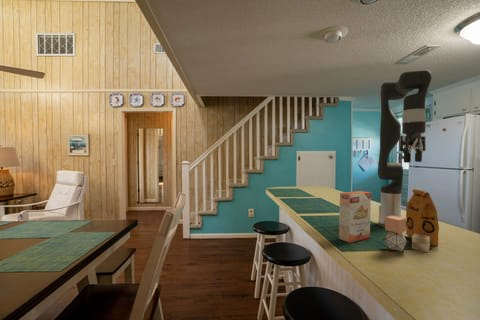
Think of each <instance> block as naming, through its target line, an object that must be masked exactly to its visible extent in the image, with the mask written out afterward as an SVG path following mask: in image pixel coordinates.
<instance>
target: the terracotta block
mask: <svg viewBox="0 0 480 320" xmlns="http://www.w3.org/2000/svg"><path fill="white" fill-rule="evenodd" d="M384 226H385V227H384V228H385V229H384V230H385V231H387V232H388V231H392V232H396V233H401V232H402V233H406V217H402V216H401V217H397V216H388V217H385V225H384Z"/></svg>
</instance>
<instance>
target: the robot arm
mask: <svg viewBox="0 0 480 320" xmlns="http://www.w3.org/2000/svg"><path fill="white" fill-rule="evenodd" d="M432 75H433V74H432V72H431V71H430V70H429V69H419V70H409V71H408V70H407V71H404V72H402V73H401V74H400V75H399V77H398V78H399V79H398V81H388V82H383V83H382V84H381V85H380V127H379V128H380V129H379V155H378V156H379V157H378V162H377V164H378V165H377V175H378V178H379V179H380V180H382V181H391V182H390V183H388V184H385V185H383V186H381V187H380V205H379V206H378V223H379V224H381V225H382V226H385V217H388V216H397V217H402V190H403V181H404V180H403V178H404V168H403V165H402V164H401V163H400V162H389V156H390V154H391V153H392V151H393V149H394V148H395V146H396V145H397V144H398V143H399V141H400V143H399V151H400V152H402V153H403V162H404V163H406V164H407V163H411V160H412V159H411V157H412V153H411V152H412V151H413V149H414V161H415V162H416V163H422V161H423V153H424V152H426V150H427V149H426V136H423V135H421V134H425V133H426V126H427V125H426V123H427V121H426V119H427V118H426V117H427V116H426V115H427V114H426V98H427V93H428V90H429V87H430V84H431V82H432V78H433V76H432ZM413 90H417V92H416V93H412V94H409V93H410V92H412V91H413ZM408 94H409V95H408ZM398 100H403V105H402V108H403V109H402V110H403V111H402V123H400V120H399V119H398V117H396V115H395V114H394V112H393V111H392V109H391V107H390V102H389V101H398Z"/></svg>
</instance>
